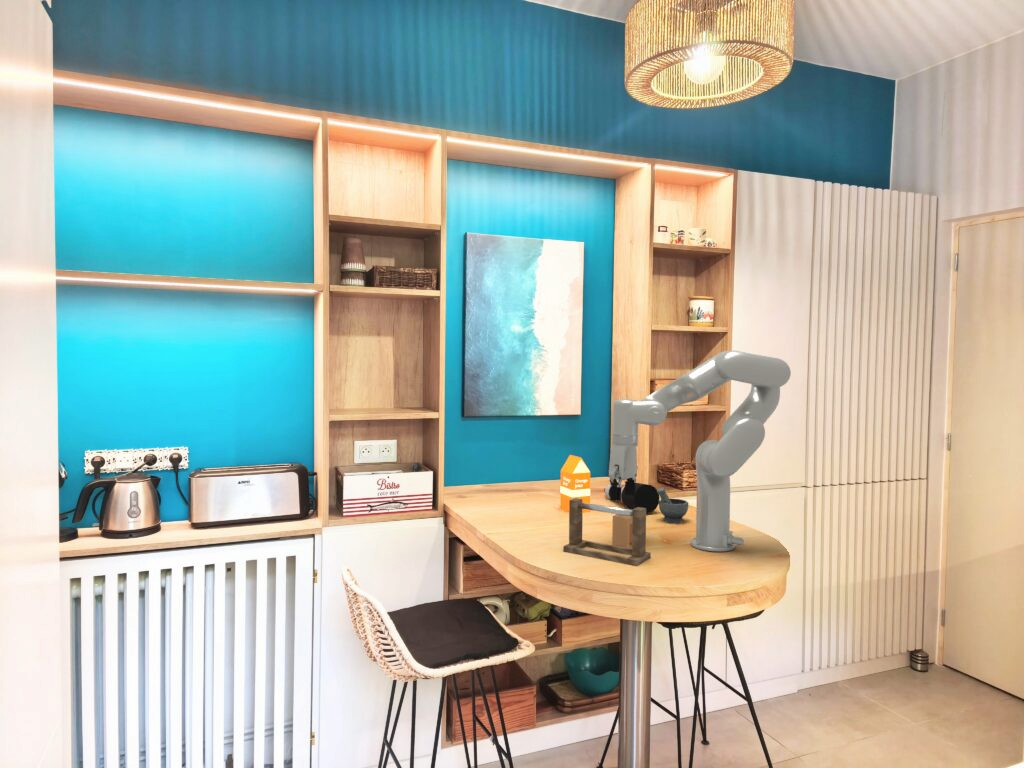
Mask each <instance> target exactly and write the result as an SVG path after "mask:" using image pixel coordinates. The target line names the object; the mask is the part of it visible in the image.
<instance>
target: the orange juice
mask: <svg viewBox="0 0 1024 768" xmlns="http://www.w3.org/2000/svg"><path fill="white" fill-rule="evenodd" d="M559 492H560V510H562V511H565V512H567V513H569V500H571V499H574V498H579V499H583V503H589V504H591V471H590V469H589V468H588V466H587V465H586V463H585V462H584V460H583V458H582V457H580V456H576V455H572V454H569V456H568V457H567V459H566V460H565V463H564V464H563V466H562V468H561V469H560V491H559ZM590 512H591V510H587V509H582V514H583V513H584V514H585V513H590Z"/></svg>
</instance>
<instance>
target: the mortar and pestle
mask: <svg viewBox="0 0 1024 768" xmlns="http://www.w3.org/2000/svg"><path fill="white" fill-rule="evenodd" d="M657 493H658V494H659V497H660V498H659V504H658V508H659V510H660V513H661V514H662V515H663V516H664V518H663V521H664V523H666V524H667V523H668V524H675V525H677V524H682V523H684V522H683V517H684V516H685V515H686V514H687V512H688V510H689V502H688V501H687V500H685V499H680V498H671V497H670V496H668V493H667V492H666V488H664V487H662V486H661V487H659V488H658V489H657Z"/></svg>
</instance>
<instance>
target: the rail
mask: <svg viewBox="0 0 1024 768" xmlns="http://www.w3.org/2000/svg"><path fill="white" fill-rule="evenodd" d="M578 508H581V509H587V510H590V511H595V512H599V513H600V512H602V513H609V514H614V515H616V514H619V515H626V516H632V517H633V510H631V509H628V508H622V507H615V506H608V505H602V504H596V503H595V504H594V503H590V504H589V503H583V502H579V503H578Z"/></svg>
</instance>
